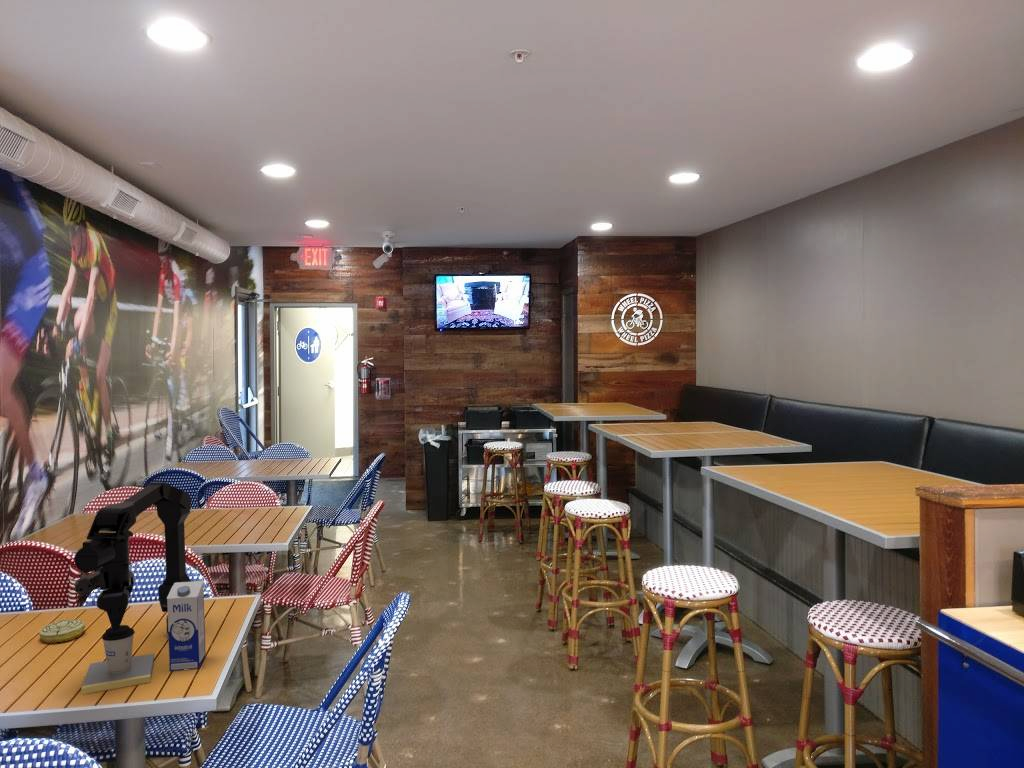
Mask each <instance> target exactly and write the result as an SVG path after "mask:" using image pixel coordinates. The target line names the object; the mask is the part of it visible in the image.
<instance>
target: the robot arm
mask: <svg viewBox="0 0 1024 768" xmlns="http://www.w3.org/2000/svg"><path fill="white" fill-rule="evenodd" d="M191 505H192V497H191V495H190V493H188V492H187V491H185V490H183V489H181V488H178V487H176V486H172V485H171V484H170V483H168V482H165V481H160V482H159V481H151V482H149V483H147V484H146V485H145V487H143V488H142V489H140V490H138V491H137V492H136V493H134V494H133V495H131V496H129V497H128V498H126V499H125V500H124V501H121V502H119V503H113V504H108V505H106V506H103V507H100V508H99V510H98V511H97V512H96V515H95V517H94V519H93V521H92V522H91V525H90V529H89V531H88V533H87V536H86V541H83V542H82V547H81V548H79V549H78V550H77V552H76V553H75V556H74V564H75V567H76V568H77V569H78V570H79V571H80V572H83V573H90V574H87V575H85V576H83V577H81V578H78V579H77V580H76V581H75V582H74V584H73V586H74V588H75V589H74V591H75V593H77V594H78V596H79V597H84V596H85V595H86V594H88V593H90V592H93V591H95V590H97V589H99V590H100V591H101V592H100V593H99V594H98V596H97V599H96V607H97V609H99V610H101V611H102V610H103V611H104V612H105V613H106V614H107V617H108V620H109V623H110V625H111V627H112V629H113V631H118V630H119V627H120V625H122V621H123V619H124V616H125V614H126V611H127V608H128V605H129V602H130V598H131V597H130V596H131V595H132V592H133V588H134V586H135V574H134V573H133V572H132V571H131V570H130V566H131V559H130V543H129V542H130V540H129V538H131V537H134V532H133V531H132V530H130V529H132V527H133V526H134V525H135V524H136V523H137V517H138V516H139V515H140V514H142V513H143V512H145V511H147V510H148V509H149V508H150V507H152V506H154V507H156V515H157V516H158V518H159V520H160V521H161V522H162V523H163V526H164V548H165V549H164V553H165V556H164V557H165V578H164V580H163V581H162V583H161V584H160V585H158V597H157V598H158V599H157V600H158V602H159V605H160V609H161V612H162V613H168V608H167V597H168V594H169V592H170V590H171V588H172V586H173V585H174V583H177V582H193V581H192V580H191V579H190V577H189V576H188V574H187V571H186V570H187V569H186V542H185V541H186V540H185V539H186V538H185V536H186V535H185V521H186V519H187V518H188V517H189V515H190V513H191V507H192V506H191ZM98 569H99V570H98ZM95 570H96V571H95ZM97 570H98V571H97ZM165 620H166V633H167V634H168V614H167V615H166V619H165Z"/></svg>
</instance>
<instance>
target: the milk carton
mask: <svg viewBox="0 0 1024 768" xmlns="http://www.w3.org/2000/svg"><path fill="white" fill-rule="evenodd" d="M204 583H205V581H204V580H198V581H197V580H196V581H192V582H177V583H174V585H173V586H172V588H171V590H170V592H169V594H168V597H167V608H168V612H167V615H168V633H167V634H168V659H169V660H168V664H169V665H168V666H169V667H168V668H169V672H174V670H178V671H185V670H184V669H190V670H194V669H193V668H199V667H201V666H202V664H203V663H204V661H205V659H206V658H205V657H206V624H205V622H206V620H205V598H204V597H205V595H204V594H205V593H204V592H205V591H204ZM203 660H204V661H203ZM202 662H203V663H202ZM200 665H201V666H200ZM199 669H200V668H199Z"/></svg>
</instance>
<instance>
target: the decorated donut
mask: <svg viewBox="0 0 1024 768" xmlns="http://www.w3.org/2000/svg"><path fill="white" fill-rule="evenodd" d="M85 628H86V625H85V622H84V621H83V620H79V619H63V620H60V621H55V622H51V623H49V624H47V625H44V626H43V627H42V628H41V629H40V631H39V632H38V634H39V638H40V640H42V642H43V643H47V644H58V643H57V642H62V643H64V642H63V641H67V640H70V641H72V640H71V639H73V640H75V639H74V638H76V637H77V638H79V637H80V636H81V635H82V634H83V633H84V630H85ZM77 638H76V639H77ZM67 642H68V641H67Z"/></svg>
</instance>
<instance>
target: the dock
mask: <svg viewBox="0 0 1024 768" xmlns="http://www.w3.org/2000/svg"><path fill="white" fill-rule="evenodd" d="M154 662H155V653H150V654H149V653H148V654H143V655H142V654H141V655H136V656H131V666H130V669H129V670H128V671H126V672H123V673H119V674H111V673H109V671H108V665H107V660H104V661H99V662H93V663H89V667H88V669H87V672H86V674H85V678H84V681H83V683H82V686H81V695H87V694H88V695H89V694H92V693H98V692H105V691H109V690H116V689H121V687H122V688H127V686H128V687H133V686H139V685H145V684H149V683H151V682H152V676H153V670H152V669H154V664H155V663H154ZM132 685H133V686H132Z"/></svg>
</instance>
